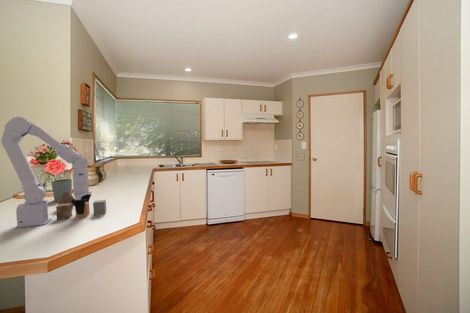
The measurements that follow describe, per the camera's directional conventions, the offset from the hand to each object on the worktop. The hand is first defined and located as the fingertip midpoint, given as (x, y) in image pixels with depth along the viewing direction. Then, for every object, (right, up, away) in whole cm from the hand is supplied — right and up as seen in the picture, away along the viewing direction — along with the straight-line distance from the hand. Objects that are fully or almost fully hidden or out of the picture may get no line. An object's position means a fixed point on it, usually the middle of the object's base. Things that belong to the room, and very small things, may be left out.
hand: (82, 212), depth 106 cm
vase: (-16, -2, +12) cm, 20 cm away
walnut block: (-6, -2, -2) cm, 7 cm away
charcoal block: (+7, -1, +3) cm, 7 cm away
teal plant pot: (-35, -1, +34) cm, 48 cm away
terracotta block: (0, -2, 0) cm, 2 cm away
